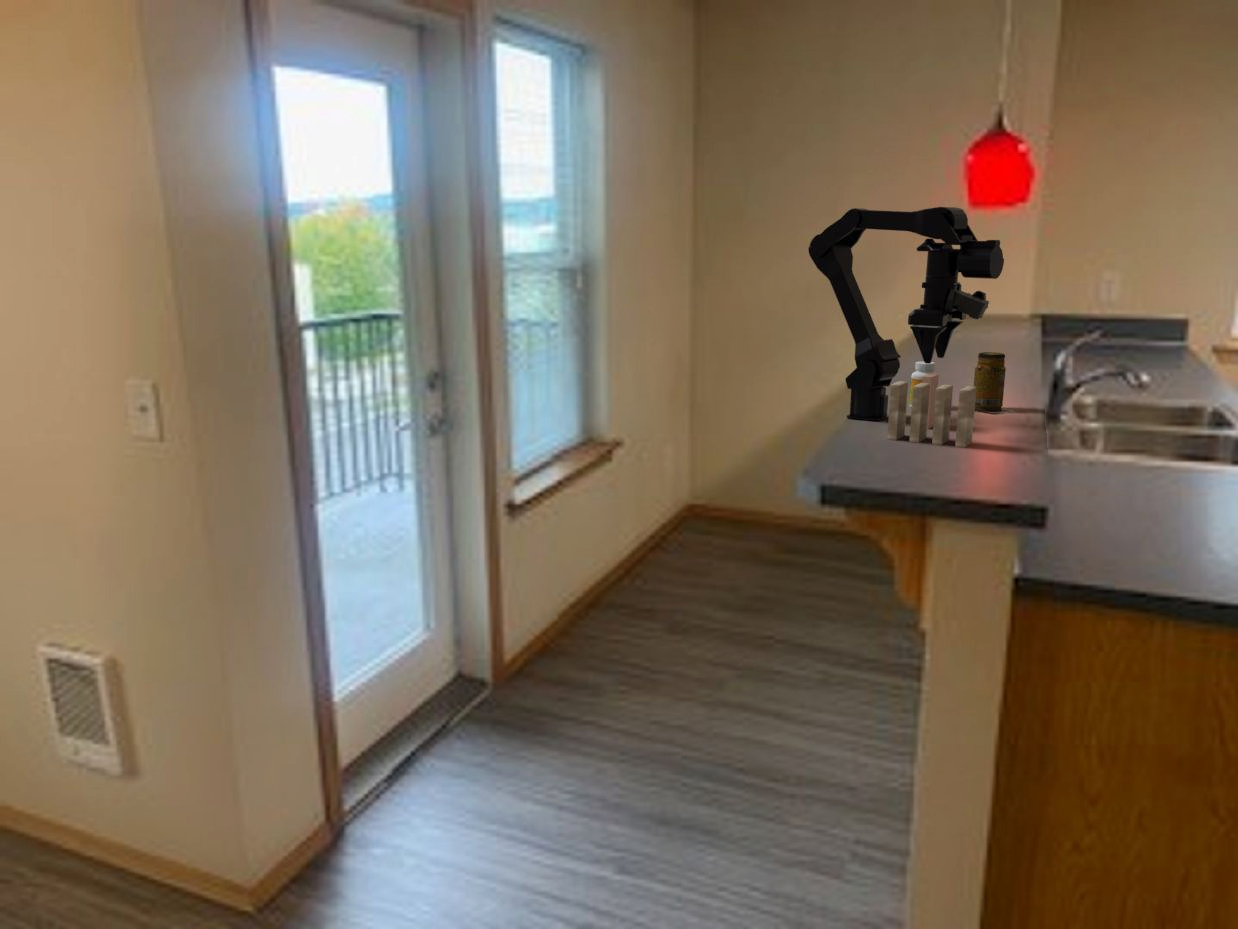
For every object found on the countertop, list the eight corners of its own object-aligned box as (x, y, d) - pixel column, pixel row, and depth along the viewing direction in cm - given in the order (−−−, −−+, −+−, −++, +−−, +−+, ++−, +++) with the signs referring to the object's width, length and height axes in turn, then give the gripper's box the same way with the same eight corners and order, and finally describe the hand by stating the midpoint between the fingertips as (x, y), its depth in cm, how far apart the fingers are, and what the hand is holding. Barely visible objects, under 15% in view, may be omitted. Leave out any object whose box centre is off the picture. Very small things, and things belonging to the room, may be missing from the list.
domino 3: (919, 428, 177) (922, 376, 174) (926, 424, 181) (930, 373, 178) (927, 429, 176) (931, 377, 173) (935, 424, 180) (938, 374, 177)
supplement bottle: (905, 405, 201) (908, 361, 199) (929, 404, 202) (932, 360, 200) (915, 409, 196) (918, 364, 194) (939, 409, 197) (942, 363, 194)
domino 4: (932, 444, 163) (936, 388, 161) (939, 439, 167) (943, 384, 165) (941, 445, 162) (945, 388, 160) (948, 440, 166) (953, 385, 164)
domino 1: (887, 439, 167) (890, 384, 165) (895, 434, 171) (899, 381, 169) (896, 440, 166) (899, 385, 164) (904, 435, 170) (908, 381, 168)
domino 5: (955, 446, 161) (959, 390, 158) (962, 441, 165) (967, 386, 162) (964, 447, 160) (969, 390, 158) (971, 442, 164) (976, 386, 162)
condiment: (986, 405, 200) (991, 350, 198) (1018, 411, 193) (1023, 354, 190) (961, 408, 197) (965, 352, 194) (992, 414, 190) (997, 356, 187)
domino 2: (909, 441, 165) (913, 386, 163) (917, 436, 169) (921, 382, 167) (918, 442, 164) (922, 387, 162) (926, 437, 168) (930, 383, 166)
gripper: (975, 280, 159) (966, 369, 163) (997, 276, 175) (989, 358, 178) (910, 278, 165) (903, 364, 169) (938, 274, 181) (931, 353, 184)
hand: (934, 360), depth 175 cm, fingers open, 9 cm apart
